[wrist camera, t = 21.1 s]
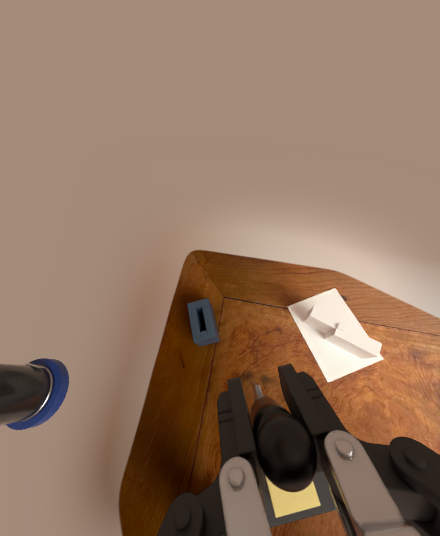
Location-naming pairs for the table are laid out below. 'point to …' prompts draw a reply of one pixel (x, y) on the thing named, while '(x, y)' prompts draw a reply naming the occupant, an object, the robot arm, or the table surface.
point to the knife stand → (197, 327)
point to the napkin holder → (334, 335)
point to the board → (325, 506)
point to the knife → (282, 444)
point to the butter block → (292, 499)
